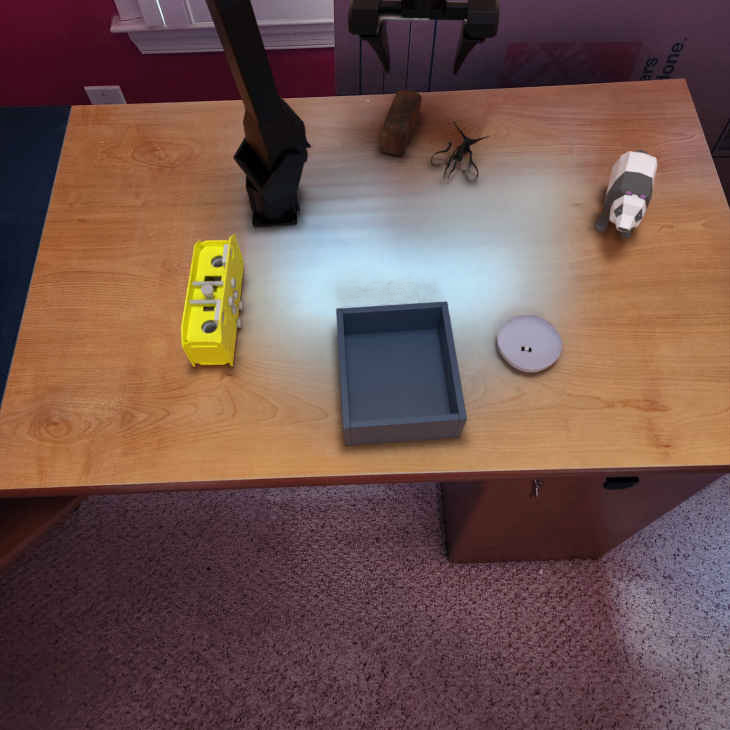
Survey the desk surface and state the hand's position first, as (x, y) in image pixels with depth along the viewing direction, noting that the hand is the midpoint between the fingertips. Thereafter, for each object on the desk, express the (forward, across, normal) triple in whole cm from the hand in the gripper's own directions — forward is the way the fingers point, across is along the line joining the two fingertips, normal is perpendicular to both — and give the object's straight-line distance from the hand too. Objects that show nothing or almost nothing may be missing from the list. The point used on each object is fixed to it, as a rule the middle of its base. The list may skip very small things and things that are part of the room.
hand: (421, 72), depth 81 cm
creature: (+10, -7, +3) cm, 13 cm away
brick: (+12, +3, -1) cm, 13 cm away
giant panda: (+13, -29, +13) cm, 35 cm away
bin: (+11, 0, +43) cm, 44 cm away
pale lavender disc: (+12, -16, +36) cm, 41 cm away
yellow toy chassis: (+10, +23, +36) cm, 44 cm away
